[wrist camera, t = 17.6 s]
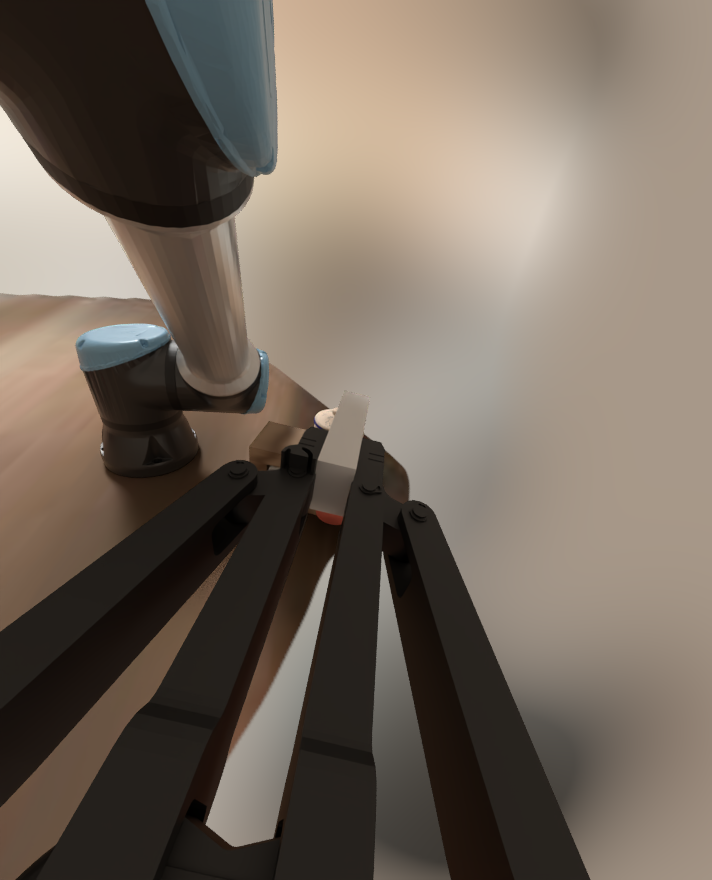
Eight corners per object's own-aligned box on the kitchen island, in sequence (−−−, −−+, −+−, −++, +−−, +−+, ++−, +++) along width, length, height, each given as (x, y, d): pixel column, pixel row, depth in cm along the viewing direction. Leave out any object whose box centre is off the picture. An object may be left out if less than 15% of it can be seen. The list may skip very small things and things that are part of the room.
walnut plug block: (250, 499, 49) (249, 446, 43) (267, 470, 56) (269, 421, 49) (358, 525, 50) (374, 476, 43) (363, 493, 56) (377, 447, 49)
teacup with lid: (313, 465, 60) (320, 420, 54) (307, 440, 67) (312, 398, 60) (364, 463, 64) (376, 421, 58) (353, 440, 71) (363, 400, 65)
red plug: (313, 520, 43) (317, 497, 40) (330, 469, 53) (334, 448, 51) (346, 528, 43) (352, 505, 40) (356, 475, 54) (361, 455, 51)
